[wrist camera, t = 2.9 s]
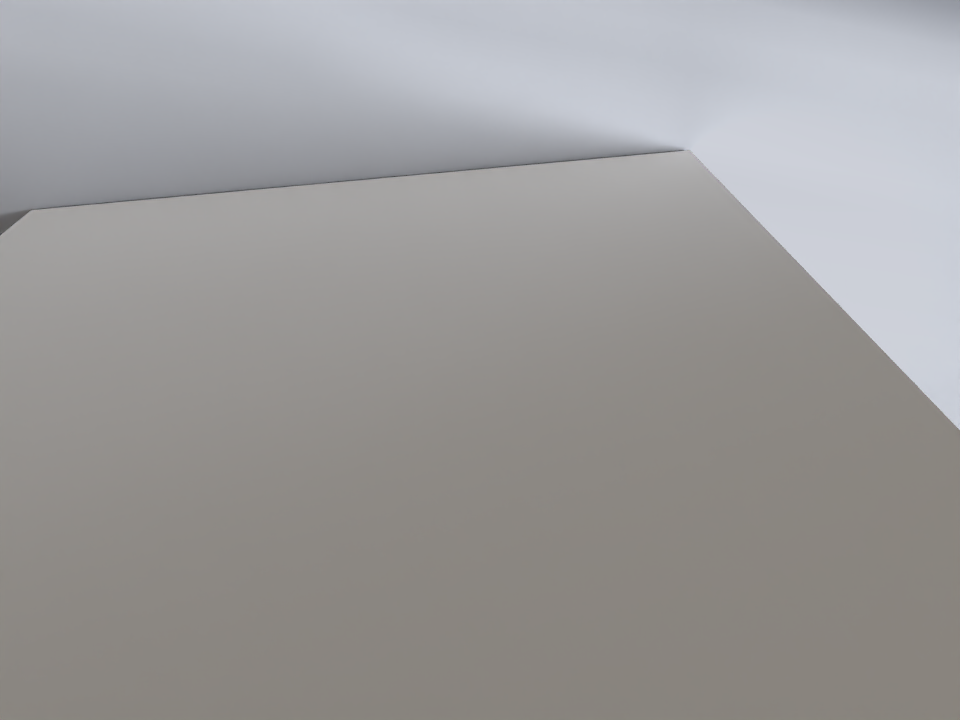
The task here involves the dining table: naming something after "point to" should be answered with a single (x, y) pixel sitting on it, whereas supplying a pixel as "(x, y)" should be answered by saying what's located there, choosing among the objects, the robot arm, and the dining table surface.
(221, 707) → the plain white closed box
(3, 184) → the dining table surface
